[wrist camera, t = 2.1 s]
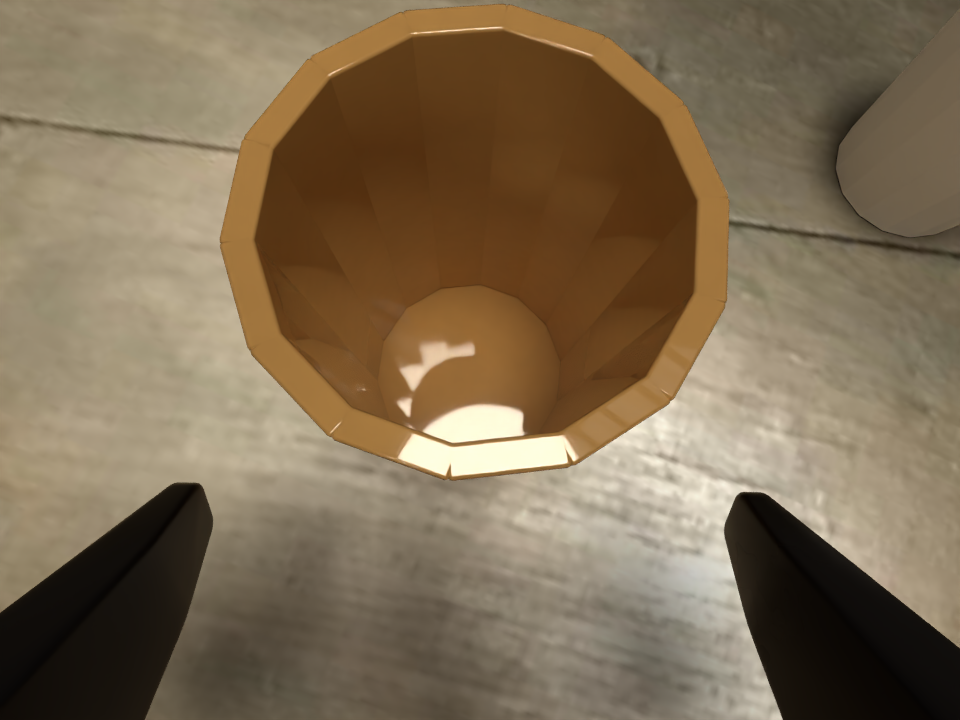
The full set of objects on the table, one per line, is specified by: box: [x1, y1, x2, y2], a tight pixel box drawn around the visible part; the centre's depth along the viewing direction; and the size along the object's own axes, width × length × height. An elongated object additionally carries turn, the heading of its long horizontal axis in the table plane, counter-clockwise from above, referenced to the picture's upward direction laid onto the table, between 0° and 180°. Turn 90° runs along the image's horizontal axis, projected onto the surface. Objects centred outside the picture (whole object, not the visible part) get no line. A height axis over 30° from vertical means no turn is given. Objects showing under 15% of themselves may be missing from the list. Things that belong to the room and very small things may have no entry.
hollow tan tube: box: [220, 4, 729, 481], centre depth 15 cm, size 7×8×13 cm
